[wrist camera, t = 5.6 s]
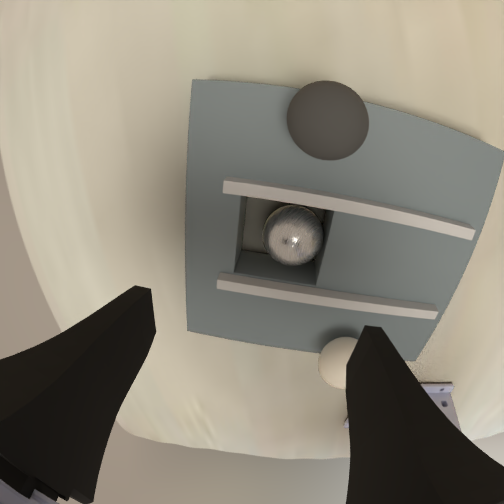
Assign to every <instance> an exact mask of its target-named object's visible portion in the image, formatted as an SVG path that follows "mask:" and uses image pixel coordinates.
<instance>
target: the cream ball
mask: <svg viewBox="0 0 504 504" xmlns="http://www.w3.org/2000/svg"><path fill="white" fill-rule="evenodd" d="M357 341H358V340H357V339H355V338H352V337H339V338H336V339H334V340H332V341H330V342H329V343H328V344H327V345H326V346H325V347H324V348H323V350H322V351H321V353H320V356H319V359H318V369H319V372H320V375H321V377H322V378H323V380H324V381H325V382H326V383H327V384H329V385H330V386H332V387H335V388H339V389H346V364H347V362H348V360H349V358H350V356H351V354H352V352H353V350H354V348H355V346H356V343H357Z"/></svg>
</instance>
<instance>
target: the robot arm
mask: <svg viewBox="0 0 504 504" xmlns="http://www.w3.org/2000/svg"><path fill="white" fill-rule="evenodd" d="M155 334H156V327H155V319H154V311H153V303H152V294H151V289H149V288H145V287H140V286H136V285H135V286H133V287H132V288H130V289H129V290H127V291H126V292H124V293H123V294H121V295H120V296H118V297H117V298H115V299H114V300H112V301H111V302H109V303H108V304H106V305H105V306H103V307H102V308H100V309H99V310H97V311H96V312H94V313H93V314H91V315H90V316H88V317H87V318H85V319H84V320H82V321H80V322H79V323H77V324H75V325H74V326H72V327H71V328H69V329H67V330H66V331H64V332H62V333H60V334H59V335H57V336H55V337H53V338H51V339H49V340H47V341H45V342H43V343H41V344H39V345H37V346H35V347H32V348H30V349H27V350H25V351H22V352H20V353H17V354H15V355H13V356H9V357H6V358H3V359H1V360H0V504H59V503H57V502H56V501H57V498H58V497H60V498H62V499H64V500H66V501H68V500H69V497H71V498H73V499H75V500H77V501H78V502H80V503H82V504H89V503H92V502H93V500H94V494H95V489H96V484H97V479H98V474H99V470H100V466H101V462H102V459H103V455H104V452H105V448H106V445H107V441H108V438H109V436H110V433H111V430H112V427H113V424H114V422H115V419H116V416H117V413H118V411H119V409H120V407H121V405H122V403H123V401H124V399H125V397H126V395H127V393H128V391H129V389H130V387H131V385H132V384H133V382H134V380H135V378H136V376H137V374H138V372H139V370H140V368H141V367H142V365H143V363H144V361H145V359H146V357H147V355H148V352H149V350H150V347H151V345H152V342H153V339H154V336H155ZM453 389H454V385H453V384H420V383H419V382H418V380H417V379H416V377H415V376H414V374H413V373H412V372H411V370H410V369H409V367H408V366H407V364H406V363H405V361H404V360H403V358H402V357H401V355H400V354H399V352H398V351H397V349H396V348H395V346H394V345H393V343H392V342H391V340H390V339H389V337H388V336H387V334H386V333H385V332H384V330H383V329H382V327H377V326H368V325H365V326H364V328H363V330H362V332H361V335H360V337H359V339H358V341H357V343H356V346H355V348H354V350H353V352H352V354H351V356H350V358H349V360H348V362H347V364H346V401H347V412H348V418H347V420H346V421H345V423H344V427H345V428H349V435H350V472H349V483H348V492H347V500H346V504H504V466H502V465H501V464H499V463H498V462H496V461H495V460H493V459H492V458H490V457H489V456H488V455H487V454H486V453H484V452H483V451H482V450H480V449H479V448H478V447H477V446H476V445H475V444H473V443H472V442H471V441H470V440H469V439H468V438H467V437H466V436H465V435H464V434H463V433H462V432H461V428H460V425H459V421H458V417H457V414H456V410H455V407H454V403H453V400H452V397H451V394H450V392H451V391H452V390H453Z"/></svg>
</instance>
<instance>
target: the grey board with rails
mask: <svg viewBox="0 0 504 504" xmlns="http://www.w3.org/2000/svg"><path fill="white" fill-rule="evenodd" d="M299 90H300V89H297V88H291V87H283V86H276V85H267V84H258V83H248V82H236V81H220V80H192V89H191V102H190V116H189V131H188V150H187V173H186V212H185V272H186V311H187V331H190V332H195V333H200V334H205V335H210V336H215V337H220V338H225V339H230V340H236V341H241V342H247V343H253V344H259V345H265V346H271V347H278V348H284V349H291V350H299V351H306V352H314V353H321V351H322V350H323V348H324V347H325V346H326V345H327V344H328V343H329V342H330V341H332V340H334V339H336V338H339V337H352V338H355V339H357V340H358V339H359V337H360V335H361V332H362V330H363V328H364V326H365V325H368V326H377V327H382V329H383V330H384V332H385V333H386V334H387V336H388V337H389V339H390V340H391V342H392V343H393V345H394V346H395V348H396V349H397V351H398V352H399V354H400V355H401V357H402V358H403V360H404V361H416V359H417V357H418V356H419V354H420V353H421V351H422V350H423V348H424V346H425V345H426V343H427V341H428V340H429V338H430V336H431V335H432V333H433V331H434V330H435V328H436V326H437V324H438V323H439V321H440V319H441V317H442V315H443V313H444V312H445V310H446V308H447V306H448V304H449V302H450V300H451V298H452V296H453V294H454V292H455V290H456V288H457V286H458V284H459V282H460V280H461V278H462V276H463V274H464V271H465V269H466V267H467V265H468V263H469V260H470V258H471V256H472V253H473V251H474V248H475V246H476V244H477V241H478V238H479V236H480V233H481V231H482V228H483V225H484V223H485V220H486V217H487V214H488V211H489V208H490V205H491V202H492V199H493V196H494V193H495V190H496V186H497V183H498V179H499V176H500V172H501V168H502V164H503V160H504V151H502V150H500V149H498V148H496V147H494V146H492V145H490V144H487V143H485V142H483V141H481V140H478V139H476V138H474V137H471V136H469V135H466V134H464V133H461V132H459V131H456V130H454V129H451V128H448V127H446V126H443V125H440V124H437V123H435V122H432V121H429V120H426V119H423V118H420V117H417V116H414V115H410V114H407V113H404V112H401V111H397V110H394V109H390V108H387V107H383V106H379V105H375V104H372V103H368V102H364V104H365V106H366V109H367V112H368V116H369V130H368V134H367V137H366V139H365V141H364V143H363V144H362V146H361V147H360V148H359V149H358V150H357V151H356V152H355V153H353V154H352V155H350V156H348V157H346V158H344V159H340V160H334V161H327V160H321V159H317V158H314V157H312V156H310V155H308V154H306V153H305V152H303V151H302V150H301V149H300V148H299V147H298V146H297V145H296V144H295V142H294V141H293V139H292V137H291V135H290V133H289V130H288V126H287V111H288V107H289V104H290V102H291V100H292V98H293V97H294V96H295V94H296V93H297V92H298V91H299ZM247 196H248V197H255V198H261V199H268V200H274V201H281V202H287V203H293V204H299V205H305V206H311V207H317V208H322V209H326V213H325V218H324V223H323V227H322V229H323V242H322V246H321V248H320V250H319V252H318V253H317V255H316V257H315V261H314V262H312V261H309V262H307V263H305V264H302V265H297V266H289V265H284V264H281V263H279V262H277V261H276V260H274V259H273V258H272V257H271V256H270V255H269V254H262V253H256V252H250V251H244V250H241V249H242V240H243V230H244V221H245V211H246V202H247Z"/></svg>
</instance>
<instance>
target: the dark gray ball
mask: <svg viewBox="0 0 504 504" xmlns="http://www.w3.org/2000/svg"><path fill="white" fill-rule="evenodd" d="M287 126H288V130H289V133H290V135H291V137H292V139H293V141H294V142H295V144H296V145H297V146H298V147H299V148H300V149H301V150H302V151H303V152H305V153H306V154H308V155H310V156H312V157H314V158H317V159H321V160H327V161H334V160H340V159H344V158H346V157H348V156H350V155H352V154H353V153H355V152H356V151H357V150H358V149H359V148H360V147H361V146H362V144H363V143H364V141H365V139H366V137H367V134H368V130H369V116H368V112H367V109H366V106H365V104H364V102H363V101H362V99H361V98H360V97H359V95H358V94H357V93H356V92H355V91H353V90H352V89H351V88H349V87H347V86H346V85H343V84H341V83H338V82H334V81H317V82H314V83H311V84H308V85H306V86H305V87H303V88H302V89H300V90H299V91H298V92H297V93H296V94H295V96H294V97H293V98H292V100H291V102H290V104H289V107H288V111H287Z"/></svg>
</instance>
